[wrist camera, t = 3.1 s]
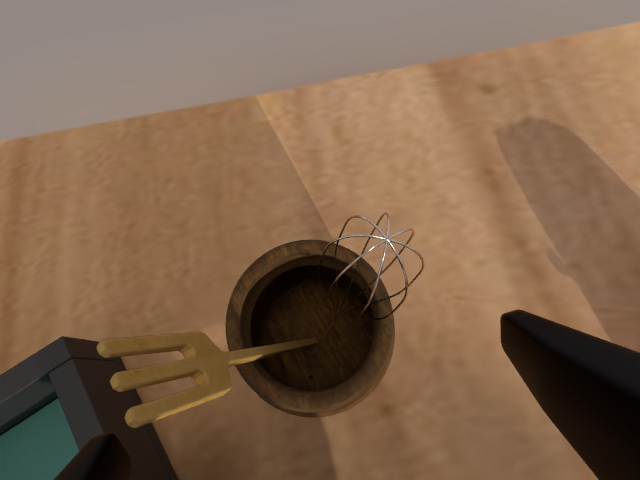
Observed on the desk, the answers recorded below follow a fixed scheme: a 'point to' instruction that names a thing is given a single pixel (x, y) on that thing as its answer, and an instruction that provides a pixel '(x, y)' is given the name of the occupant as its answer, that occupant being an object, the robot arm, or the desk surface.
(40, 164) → the desk surface
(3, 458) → the organiser
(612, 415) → the robot arm
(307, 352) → the utensil holder
